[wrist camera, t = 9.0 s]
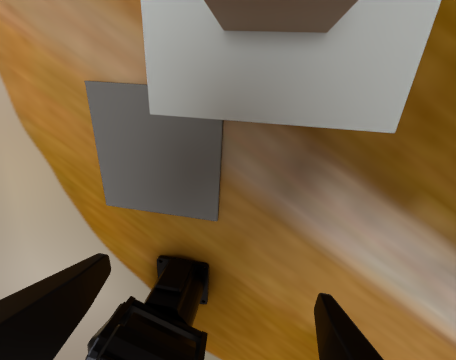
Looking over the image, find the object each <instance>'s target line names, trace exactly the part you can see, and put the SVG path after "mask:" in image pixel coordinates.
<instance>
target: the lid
mask: <svg viewBox="0 0 456 360" xmlns="http://www.w3.org/2000/svg"><path fill="white" fill-rule="evenodd" d="M440 2H441V0H141V8H142V21H143V34H144V46H145V59H146V72H147V84H148V97H149V109H150V114H153V115H166V116H179V117H192V118H205V119H218V120H231V121H244V122H257V123H269V124H282V125H295V126H308V127H321V128H334V129H347V130H360V131H373V132H386V133H395V131H396V128H397V125H398V123H399V120H400V117H401V114H402V111H403V108H404V105H405V102H406V100H407V97H408V94H409V91H410V88H411V85H412V82H413V80H414V77H415V74H416V71H417V68H418V65H419V62H420V59H421V57H422V54H423V51H424V48H425V45H426V42H427V39H428V37H429V34H430V31H431V28H432V25H433V22H434V19H435V16H436V14H437V11H438V8H439V5H440Z"/></svg>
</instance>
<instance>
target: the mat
mask: <svg viewBox="0 0 456 360" xmlns="http://www.w3.org/2000/svg"><path fill="white" fill-rule="evenodd" d="M85 85H86V91H87V96H88V102H89V108H90V113H91V119H92V125H93V130H94V136H95V142H96V148H97V153H98V159H99V165H100V170H101V176H102V182H103V187H104V193H105V199H106V204H107V205H109V206H116V207H122V208H129V209H136V210H143V211H150V212H157V213H163V214H170V215H177V216H184V217H191V218H197V219H204V220H211V221H218V209H219V189H220V170H221V151H222V131H223V120H218V119H205V118H192V117H179V116H166V115H153V114H150V109H149V97H148V85H140V84H125V83H110V82H94V81H85Z"/></svg>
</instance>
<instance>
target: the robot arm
mask: <svg viewBox="0 0 456 360" xmlns="http://www.w3.org/2000/svg"><path fill="white" fill-rule="evenodd" d="M204 267H205V268H204ZM157 270H158V280H157V282H156V283H155V285H154V287H153V288H152V290H151V292H150V294H149V295H148V297H147V299H146V300H145V302H144V303H142V302H140V301H138V300H136V299H135V298H134V297H132V296H130V298H129V299H128V300H127V301H126V302H124V303H123V304H120V305H119V306H118V308H117V309H116V311H115V312H114V314H113V315H112V316H111V318H110V319H109V320H108V321H107V322H106V323H105V324H104V326H103V327H102V328H101V329H100V330H99V331H98V332H97V333H96V334H95V335H94V336H93V337H92V338H91V340H90V341H89V343H88V355H87V357H86V359H85V360H204V356H205V349H206V341H207V333H206V332H204V331H202V332H201V331H199V330H197V329H195V328H193V327H192V325H193V322H194V319H195V316H196V313H197V310H198V306H199V304H207V301H208V283H209V265H208V264H206V263H201V262H195V261H189V260H184V259H178V258H172V257H166V256H159V257H158V258H157ZM110 272H111V266H110V260H109V256H108V255H106V254H101V253H98V254H96V255H94V256H92V257H89V258H87V259H85V260H83V261H81V262H79V263H77V264H75V265H73V266H71V267H69V268H66V269H64V270H62V271H60V272H58V273H56V274H54V275H52V276H49V277H47V278H45V279H43V280H41V281H39V282H37V283H35V284H33V285H31V286H28V287H26V288H24V289H22V290H20V291H18V292H16V293H14V294H12V295H9V296H7V297H5V298H3V299H1V300H0V360H53V359H54V358H55V356H56V355H57V353H58V352H59V350H60V349H61V348H62V346H63V345H64V343H65V342H66V341H67V339H68V338H69V336H70V335H71V334H72V332H73V331H74V329H75V328H76V327H77V325H78V323H79V322H80V321H81V320H82V318H83V317H84V315H85V314H86V313H87V311H88V310H89V308H90V307H91V305H92V303H93V302H94V300H95V298H96V297H97V295H98V293H99V292H100V290H101V288H102V286H103V285H104V283H105V281H106V280H107V278H108V276H109V275H110ZM314 316H315V325H316V334H317V343H318V352H319V359H320V360H384V359H383V358H382V357H381V356H380V355H379V353H378V352H377V351H376V350H375V348H374V347H373V346H372V345H371V343H370V342H369V341H368V340H367V339H366V337H365V336H364V335H363V334H362V332H361V331H360V330H359V329H358V327H357V326H356V325H355V324H354V323H353V321H352V320H351V319H350V318H349V316H348V315H347V314H346V313H345V311H344V310H343V309H342V308H341V307H340V305H339V304H338V303H337V302H336V300H335V299H334V298H333V297H332V296H331V295H330V294H325V293H319V294H318V297H317V300H316V304H315V307H314Z"/></svg>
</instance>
